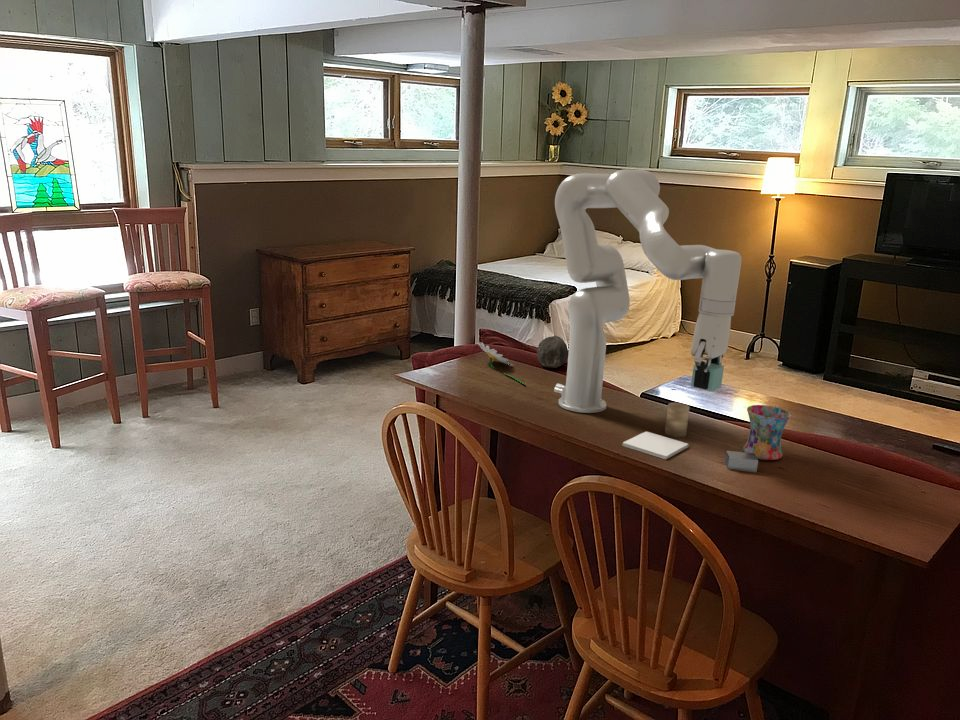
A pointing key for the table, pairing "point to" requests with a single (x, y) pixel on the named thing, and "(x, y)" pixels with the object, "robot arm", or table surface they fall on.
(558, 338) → the rock
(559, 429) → the table surface
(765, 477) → the table surface
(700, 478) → the table surface
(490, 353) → the flower
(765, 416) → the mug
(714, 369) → the block
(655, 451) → the coaster
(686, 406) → the cork cylinder
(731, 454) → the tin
